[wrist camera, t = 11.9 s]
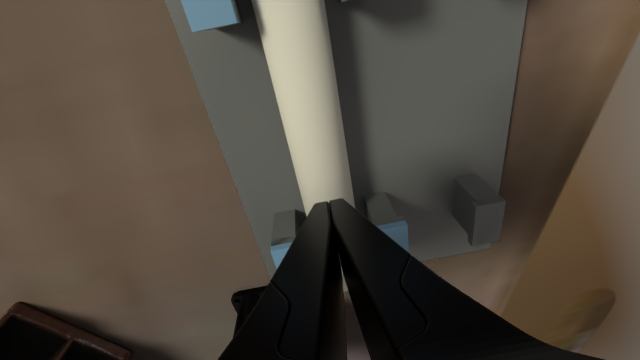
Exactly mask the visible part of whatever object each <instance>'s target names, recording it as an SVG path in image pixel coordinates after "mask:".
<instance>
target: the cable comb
mask: <svg viewBox="0 0 640 360" xmlns="http://www.w3.org/2000/svg"><path fill="white" fill-rule="evenodd" d="M324 1H325V8H326V14H327V21H328V28H329V35H330V41H331V48H332V55H333V62H334V68H335V75H336V82H337V88H338V95H339V102H340V109H341V115H342V122H343V129H344V136H345V142H346V149H347V156H348V162H349V169H350V176H351V183H352V189H353V196H354V203H355V209H356V210H357V211H359V212H360V213H361V214H362V215H364V216H365V217H366V218H367V219H368V220H370V221H371V222H372V223H373V224H375V225H376V226H377V227H378V228H379V229H381V230H382V231H383V232H384V233H386V234H387V235H388V236H389V237H390V238H392V239H393V240H394V241H395V242H397V243H398V244H399V245H400V246H401V247H403V248H404V249H405V250H406V251H408V252H409V253H410V254H411V256H414V257H415V258H416V259H417V260H419V261H420V262H421V261H426V260H431V259H436V258H442V257H447V256H452V255H458V254H463V253H468V252H473V251H479V250H484V249H489V248H491V245H492V243H494V242H499V241H500V237H501V231H502V225H503V219H504V213H505V207H506V200H505V199H504V198H502V197H501V196H500V195H499V191H500V184H501V177H502V170H503V164H504V157H505V150H506V143H507V137H508V130H509V123H510V116H511V110H512V103H513V96H514V89H515V83H516V76H517V69H518V62H519V56H520V49H521V42H522V35H523V29H524V22H525V15H526V8H527V2H528V0H324ZM165 2H166V5H167V8H168V10H169V13H170V16H171V18H172V21H173V23H174V26H175V29H176V31H177V34H178V37H179V39H180V42H181V44H182V47H183V50H184V52H185V55H186V58H187V60H188V63H189V65H190V68H191V71H192V73H193V76H194V79H195V81H196V84H197V86H198V89H199V92H200V94H201V97H202V100H203V102H204V105H205V108H206V110H207V113H208V115H209V118H210V121H211V123H212V126H213V129H214V131H215V134H216V136H217V139H218V142H219V144H220V147H221V150H222V152H223V155H224V157H225V160H226V163H227V165H228V168H229V171H230V173H231V176H232V178H233V181H234V184H235V186H236V189H237V192H238V194H239V197H240V200H241V202H242V205H243V207H244V210H245V213H246V215H247V218H248V221H249V223H250V226H251V228H252V231H253V234H254V236H255V239H256V242H257V244H258V247H259V249H260V252H261V255H262V257H263V260H264V263H265V265H266V268H267V270H268V273H269V276H270V278H271V279H272V277H273V275H274V273H275V272H276V270H277V268H278V266H279V265H280V263H281V261H282V259H283V258H284V256H285V254H286V252H287V251H288V249H289V247H290V245H291V244H292V242H293V240H294V238H295V237H296V235H297V233H298V232H299V230H300V228H301V226H302V225H303V223H304V221H305V219H306V218H307V217H306V213H305V209H304V205H303V201H302V197H301V193H300V189H299V185H298V181H297V177H296V174H295V170H294V166H293V162H292V158H291V154H290V150H289V146H288V142H287V138H286V134H285V130H284V126H283V123H282V119H281V115H280V111H279V107H278V103H277V99H276V95H275V91H274V87H273V83H272V79H271V75H270V72H269V68H268V64H267V60H266V56H265V52H264V48H263V44H262V40H261V36H260V32H259V28H258V25H257V21H256V17H255V13H254V9H253V5H252V1H251V0H165Z"/></svg>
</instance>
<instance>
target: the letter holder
mask: <svg viewBox="0 0 640 360" xmlns="http://www.w3.org/2000/svg"><path fill="white" fill-rule="evenodd" d="M132 354H133V351H131V350H129V349H127V348H125V347H122V346H120V345H118V344H116V343H113V342H111V341H109V340H106V339H104V338H102V337H100V336H97V335H95V334H93V333H91V332H88V331H86V330H83V329H81V328H79V327H77V326H74V325H72V324H70V323H68V322H65V321H63V320H61V319H58V318H56V317H54V316H51V315H49V314H47V313H45V312H42V311H40V310H38V309H35V308H33V307H31V306H29V305H26V304H24V303H22V302H17V303H15V304H14V305H13V306H11V308H10V309H8V310H7V311H6V313H5V314H4V315H3V316H2V317H1V318H0V360H130V359H131V357H132Z"/></svg>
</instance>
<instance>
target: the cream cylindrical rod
mask: <svg viewBox="0 0 640 360" xmlns="http://www.w3.org/2000/svg"><path fill="white" fill-rule="evenodd" d="M251 1H252V5H253V9H254V13H255V17H256V21H257V25H258V28H259V32H260V36H261V40H262V44H263V48H264V52H265V56H266V60H267V64H268V68H269V72H270V75H271V79H272V83H273V87H274V91H275V95H276V99H277V103H278V107H279V111H280V115H281V119H282V123H283V126H284V130H285V134H286V138H287V142H288V146H289V150H290V154H291V158H292V162H293V166H294V170H295V174H296V177H297V181H298V185H299V189H300V193H301V197H302V201H303V205H304V209H305V213H306V217H307V216H308V214H309V212H310V211H311V209H312V207H313V205H314V204H315V203H319V202H324V201H328V203H329V201H330V200H334V199H339V198H342V199H344V200H345V201H346V202H348V203H349V204H350V205H351V206H352V207H354V208H355V203H354V196H353V189H352V183H351V176H350V169H349V162H348V156H347V149H346V142H345V136H344V129H343V122H342V115H341V109H340V102H339V95H338V88H337V82H336V75H335V68H334V62H333V55H332V48H331V41H330V35H329V28H328V21H327V14H326V8H325V1H324V0H251ZM329 207H330V206H329ZM341 269H342V267H341ZM342 277H343V292H345V291H348V288H347V285H346V282H345V279H344V276H343V272H342Z"/></svg>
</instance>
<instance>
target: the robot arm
mask: <svg viewBox="0 0 640 360" xmlns="http://www.w3.org/2000/svg"><path fill="white" fill-rule="evenodd" d="M329 206H330V207H329ZM341 267H342V269H341ZM342 272H343V276H344V279H345V282H346V285H347V288H348V291H349V294H350V297H351V300H352V303H353V306H354V309H355V312H356V315H357V318H358V321H359V324H360V328H361V331H362V334H363V337H364V340H365V343H366V346H367V349H368V352H369V355H370V358H371V360H604V359H600V358H595V357H591V356H587V355H583V354H579V353H575V352H570V351H567V350H563V349H560V348H557V347H554V346H552V345H549V344H547V343H545V342H542V341H540V340H538V339H536V338H534V337H532V336H530V335H529V334H527V333H525V332H523V331H522V330H520V329H518V328H517V327H515V326H514V325H512V324H510V323H509V322H507V321H506V320H504V319H503V318H501V317H500V316H498V315H497V314H495V313H494V312H492V311H491V310H489V309H487V308H486V307H484V306H483V305H481V304H480V303H478V302H477V301H475V300H474V299H472V298H470V297H469V296H467V295H466V294H464V293H463V292H461V291H460V290H458V289H457V288H455V287H454V286H452V285H451V284H449V283H448V282H447V281H445V280H444V279H442V278H441V277H439V276H438V275H437V274H435V273H434V272H433V271H431V270H430V269H429V268H428V267H426V266H425V265H424V264H422V263H421V262H420V261H419V260H417V259H416V258H415V257H414V256H411V254H410V253H409V252H408V251H406V250H405V249H404V248H403V247H401V246H400V245H399V244H398V243H397V242H395V241H394V240H393V239H392V238H390V237H389V236H388V235H387V234H386V233H384V232H383V231H382V230H381V229H379V228H378V227H377V226H376V225H375V224H373V223H372V222H371V221H370V220H368V219H367V218H366V217H365V216H364V215H362V214H361V213H360V212H359V211H357V210H356V209H355V208H354V207H352V206H351V205H350V204H349V203H348V202H346V201H345V200H344V199H342V198H339V199H334V200H330V201H329V203H328V201H324V202H319V203H315V204H314V205H313V207H312V209H311V211H310V212H309V214H308V216H307V218H306V219H305V221H304V223H303V225H302V226H301V228H300V230H299V232H298V233H297V235H296V237H295V238H294V240H293V242H292V244H291V245H290V247H289V249H288V251H287V252H286V254H285V256H284V258H283V259H282V261H281V263H280V265H279V266H278V268H277V270H276V272H275V273H274V275H273V277H272V279H271V280H270V283H269V284H268V285H267V287H263V288H258V289H253V290H247V291H242V292H237V293H234V294H233V295H232V298H231V302H232V304H233V306H234V308H235V310H236V312H237V314H238V315H237V320H236V325H235V330H234V335H233V339H232V341H231V342H230V343H229V345H228V346H227V347H226V349H225V350H224V352H223V353H222V354H221V356H220V357H219V358H218V360H347V345H346V327H345V309H344V292H343V277H342Z"/></svg>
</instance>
